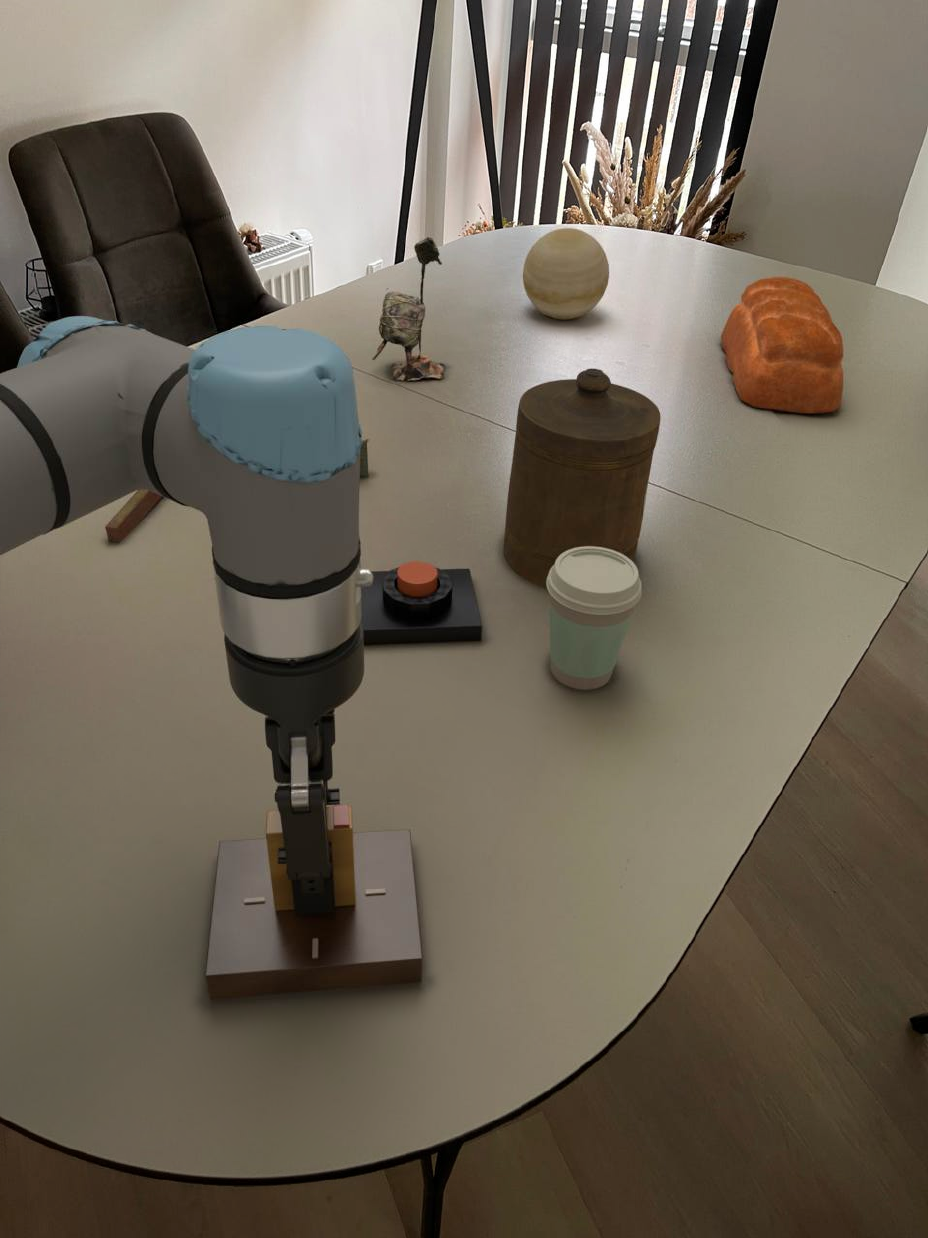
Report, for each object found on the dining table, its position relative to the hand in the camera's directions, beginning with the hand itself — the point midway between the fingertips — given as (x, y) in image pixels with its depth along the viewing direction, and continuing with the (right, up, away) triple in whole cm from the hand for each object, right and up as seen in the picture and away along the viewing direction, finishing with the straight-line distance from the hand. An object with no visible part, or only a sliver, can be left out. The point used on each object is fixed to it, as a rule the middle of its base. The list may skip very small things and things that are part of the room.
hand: (315, 892), depth 66 cm
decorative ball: (+28, +73, +104) cm, 130 cm away
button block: (+5, +19, +32) cm, 38 cm away
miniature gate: (-17, +34, +50) cm, 63 cm away
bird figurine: (+2, +57, +81) cm, 99 cm away
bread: (+61, +58, +88) cm, 121 cm away
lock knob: (0, 0, 0) cm, 0 cm away
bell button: (+6, +22, +30) cm, 37 cm away
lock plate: (0, -3, +2) cm, 3 cm away
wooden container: (+22, +26, +42) cm, 54 cm away
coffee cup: (+22, +14, +26) cm, 36 cm away
